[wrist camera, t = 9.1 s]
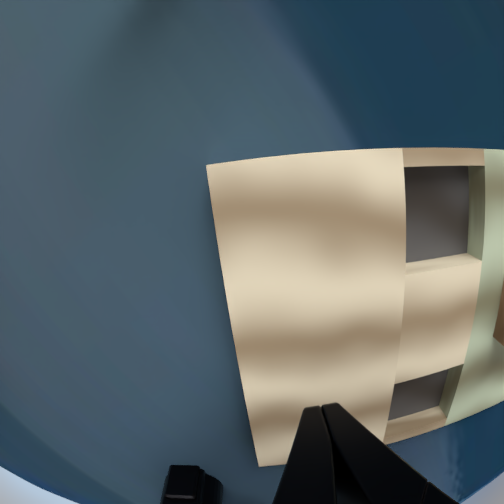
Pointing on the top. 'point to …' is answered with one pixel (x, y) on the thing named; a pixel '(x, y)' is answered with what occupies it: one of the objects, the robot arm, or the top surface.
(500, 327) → the walnut block
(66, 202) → the top surface
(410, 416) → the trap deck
